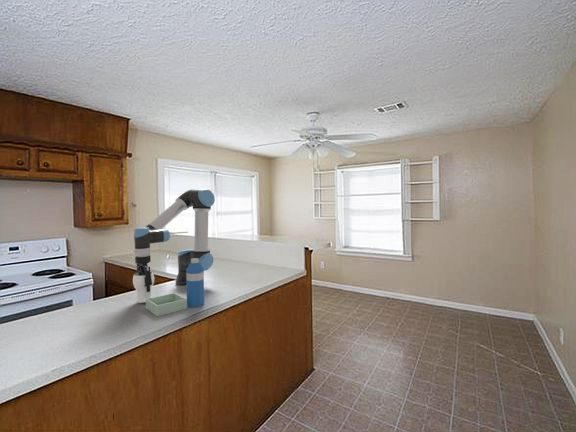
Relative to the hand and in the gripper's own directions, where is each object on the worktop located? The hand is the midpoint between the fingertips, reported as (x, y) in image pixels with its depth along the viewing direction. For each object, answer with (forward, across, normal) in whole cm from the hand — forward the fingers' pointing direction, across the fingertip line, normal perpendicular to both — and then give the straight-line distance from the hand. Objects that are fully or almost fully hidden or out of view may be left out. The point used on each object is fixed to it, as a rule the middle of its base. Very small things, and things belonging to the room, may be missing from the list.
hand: (144, 295), depth 160 cm
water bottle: (+5, +23, +18) cm, 30 cm away
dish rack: (+4, +18, +5) cm, 19 cm away
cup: (+3, 0, 0) cm, 3 cm away
